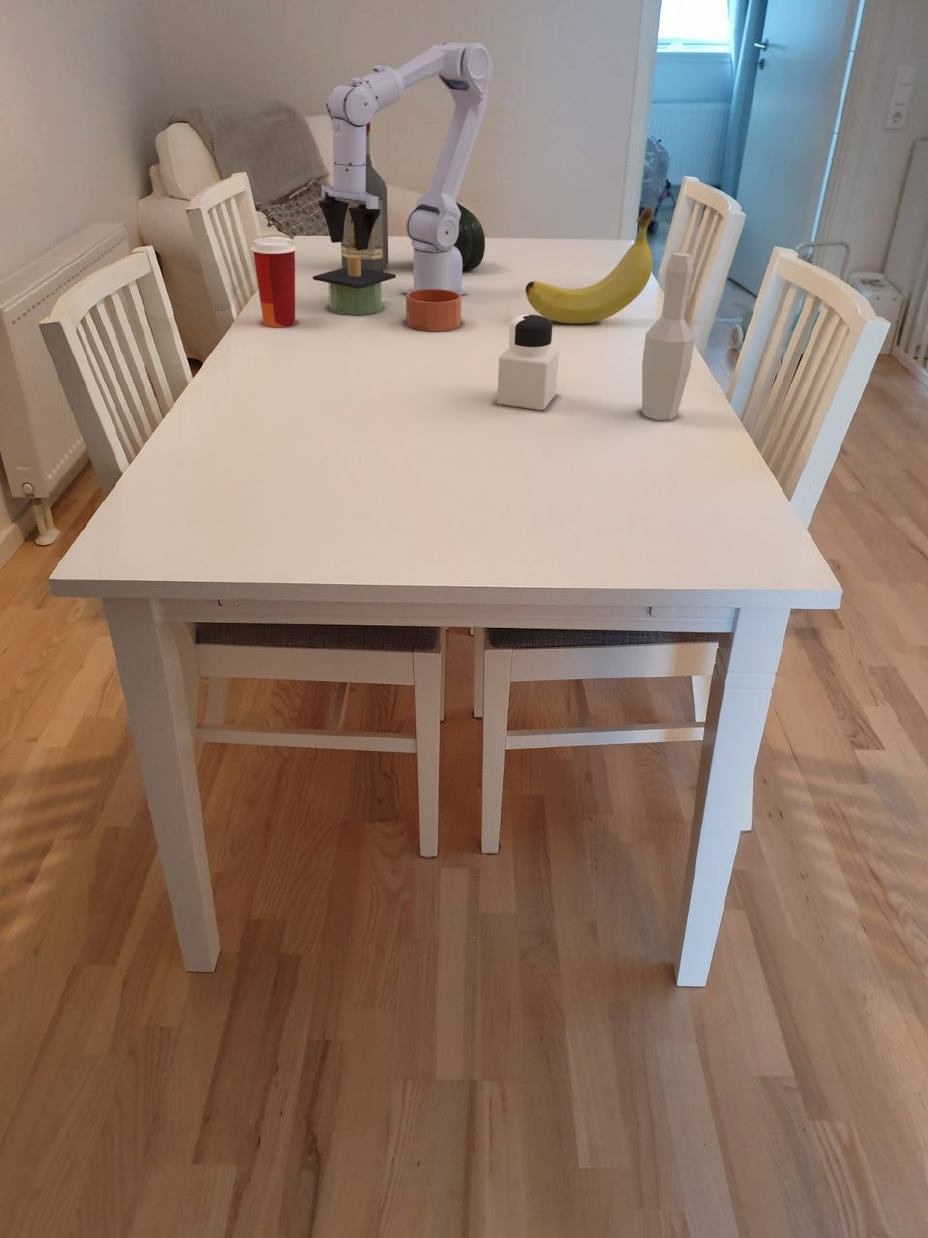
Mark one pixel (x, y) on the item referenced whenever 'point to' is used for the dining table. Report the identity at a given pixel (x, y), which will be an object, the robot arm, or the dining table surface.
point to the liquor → (378, 240)
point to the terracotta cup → (433, 309)
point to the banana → (598, 287)
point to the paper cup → (276, 279)
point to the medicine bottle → (528, 364)
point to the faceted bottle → (668, 345)
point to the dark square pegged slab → (354, 275)
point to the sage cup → (355, 299)
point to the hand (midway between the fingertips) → (349, 245)
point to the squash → (470, 239)
